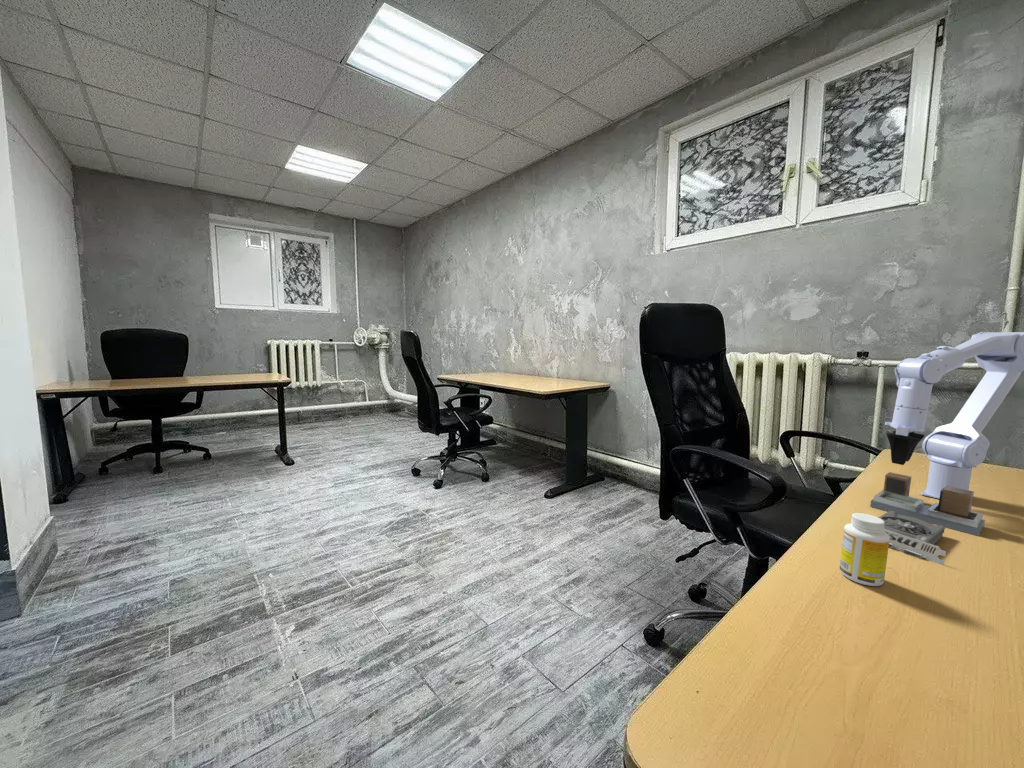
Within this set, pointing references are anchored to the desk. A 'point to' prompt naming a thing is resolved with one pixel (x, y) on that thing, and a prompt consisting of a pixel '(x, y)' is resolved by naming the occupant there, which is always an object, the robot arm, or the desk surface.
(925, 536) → the graphics card
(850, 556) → the supplement bottle
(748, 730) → the desk surface
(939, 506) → the grey block holder
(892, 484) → the walnut block
